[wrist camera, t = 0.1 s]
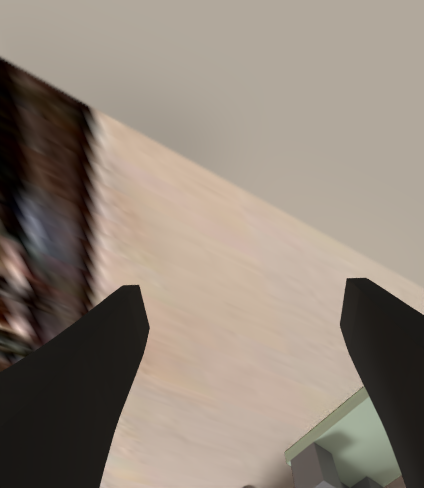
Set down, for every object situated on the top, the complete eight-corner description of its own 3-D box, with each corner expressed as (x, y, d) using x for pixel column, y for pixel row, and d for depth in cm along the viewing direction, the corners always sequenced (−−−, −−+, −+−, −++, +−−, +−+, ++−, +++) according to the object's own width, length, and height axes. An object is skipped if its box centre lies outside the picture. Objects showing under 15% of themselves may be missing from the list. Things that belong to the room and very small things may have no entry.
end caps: (358, 503, 26) (374, 547, 23) (290, 460, 25) (296, 500, 22) (481, 421, 22) (518, 461, 19) (405, 367, 21) (431, 400, 18)
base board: (350, 494, 27) (354, 506, 26) (284, 452, 26) (286, 463, 25) (476, 406, 23) (487, 417, 22) (403, 353, 22) (410, 362, 21)
